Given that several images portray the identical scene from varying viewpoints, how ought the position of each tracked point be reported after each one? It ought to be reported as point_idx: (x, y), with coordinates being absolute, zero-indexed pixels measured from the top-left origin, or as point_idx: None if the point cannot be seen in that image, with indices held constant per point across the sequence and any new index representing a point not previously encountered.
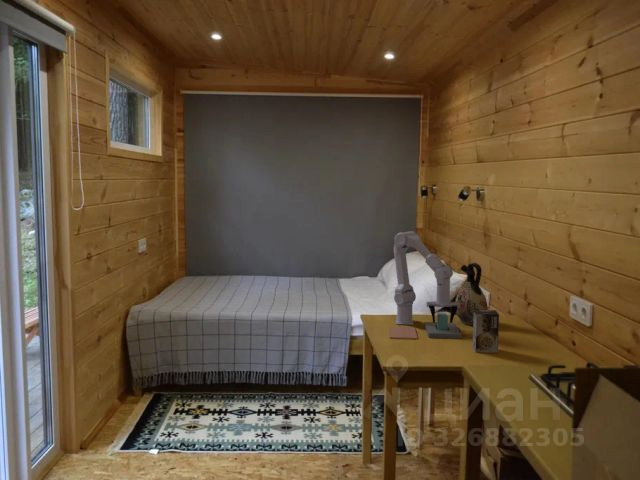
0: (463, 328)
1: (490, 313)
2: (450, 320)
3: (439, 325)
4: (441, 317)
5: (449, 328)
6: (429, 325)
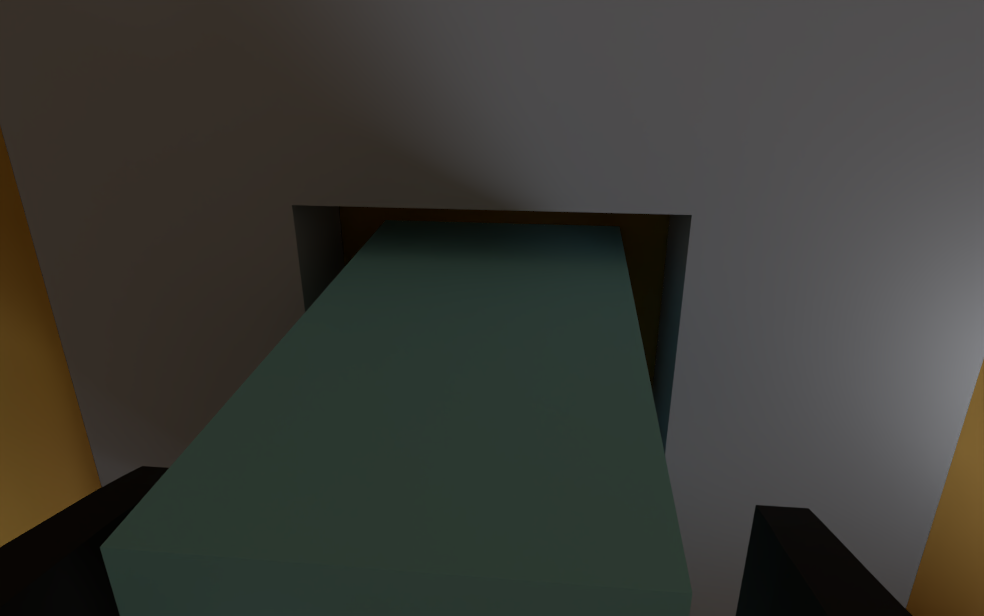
0: None
1: None
2: None
3: (605, 321)
4: (513, 539)
5: None
6: None
